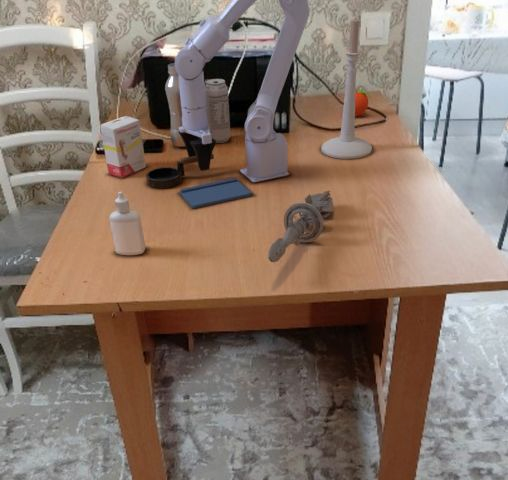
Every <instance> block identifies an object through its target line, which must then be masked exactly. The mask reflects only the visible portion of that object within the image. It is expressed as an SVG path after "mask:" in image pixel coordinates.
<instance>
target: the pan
mask: <svg viewBox="0 0 508 480" xmlns="http://www.w3.org/2000/svg"><path fill="white" fill-rule="evenodd" d="M214 159H215V155H214V153H212V155H211V160H214ZM194 163H198V161H197V157H196V156H191V157H189V156H186V157H181V158H180V160H177V161H176V165H177V166H176V167H177V168H176V167H171V166H163V167H156V168H152V169H151V170H149V171H148V172H147V173H146V174H145V178H146V182H147V186H149V187H150V188H152V189H159V190H166V189H172V188H175V187H178V186H179V185H180V184H181V183H182V181H183V180H182V179H183V177H185V176H186V173H185V165H190V164H194Z"/></svg>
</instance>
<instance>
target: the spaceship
mask: <svg viewBox="0 0 508 480" xmlns="http://www.w3.org/2000/svg"><path fill="white" fill-rule="evenodd" d="M330 192H331V190H325V191H323V192H321V193H315V194H312V195H311V194H310V193H309V194H308V195H307V196H306V197H304V202H303V201H302V202H301V201H300V202H296V203H293V204H291V205H289V207H288V208H287V209H286V210H285V213H284V215H283V227H284V229H285V232H284V234H283V236H282V237H279V238H277V239H276V240H275V241H274V242H273V243H272V244H271V245H270V247H269V250H268V253H267V258H268V260H269V262H271V263H277V262H279V261H280V260H281V259H282V258H283V256H284V255H285V254H286V251H287V248H288V247H289V246H290V245H292V244H294V245H295V246H296V247H298V246H299V245H300V244H301V243H312V242H314V241H316V240H317V239H318V238H319V237H320V236H321V235H322V233H323V230H324V219H325V218H326V217H329V215H330V214H331V213H332V212H333V211H334V202H333V197H332V196H331V193H330ZM320 211H323V212H325V213H324V214H323V215H322V214H321V212H320ZM326 212H327V213H326ZM297 214H298V215H299V217H300V218H299V217H298V216H296V215H297ZM307 229H309V230H310V229H311V231H310V232H308V230H307Z"/></svg>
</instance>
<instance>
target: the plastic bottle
mask: <svg viewBox="0 0 508 480" xmlns="http://www.w3.org/2000/svg"><path fill="white" fill-rule="evenodd" d="M167 73H168V78H167V80H166V82H165V85H164V91H165V95H166V99H167V103H168V109H169V115H170V129H169V131H170V132H169V134H170V135H169V137H170V141H171V143H172V145H174V146H175V147H177V148H181V147H182V148H186V146H185V144H184V141H183V139H182V137H181V136H180V134H179V127H182V109H181V99H180V90H179V75H178V73H177V71H176V69H175V62H172V63H169V64H167Z"/></svg>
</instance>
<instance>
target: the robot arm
mask: <svg viewBox="0 0 508 480" xmlns="http://www.w3.org/2000/svg"><path fill="white" fill-rule="evenodd" d="M256 1H257V0H231V1H230V2H229V4H228V5H227V6H226V7H225V8H224V10H222V12H221V13H220V14H219V15H217V16H208V18H207V19H205V18H203V19H202V20H201V21H200V22H199V26H200V27H199V28H198V30H196V32H195V33H194V34H193V35H192V36H191V38H189V37H188V38H187V39H186V40H185V41H184V44H185V45H184V46H183V47H182V48H181V49H180V50H179V51H178V53H177V54H176V56H175V58H174V63H175V69H176V71H177V73H178V75H179V90H180V99H181V109H182V127H179V134H180V136H181V137H182V139H183V141H184V144H185V146H186V147H185V149H186V152H187V157H191V156H196V157H197V161H198V162H197V166H198V168H199V170H200V171H201V172H204V171H208V170H210V168H211V167H210V166H211V160H212V159H211V155H212V154H213V152H214V149H215V146H216V145H217V143H216V140H215V139H212V138H211V134H210V130H209V124H208V115H207V103H206V90H205V86H206V81H205V76H204V70H203V69H204V67H205V65H206V63H209V62H210V61H212V59H213V58H214V57H215V56H216V54H218V52H219V51H220V50H221V49H222V48H223V47H224V46H225V45H226V44H227V42H229V40H230V30H231V28H232V27H233V25H234V24H235V23H237V21H238V20H239V19H240V18H241V17H242V16H243V15H244V14H245V13H246V12H247V11H248V10H249V8H251V6H252V5H254V3H256ZM278 2H279V5H280V8H281V10H282V12H283V13H284V18H283V21H282V24H281V27H280V31H279V33H278V36H277V39H276V42H275V44H274V46H273V50H272V53H271V57H270V59H269V62H268V64H267V68H266V71H265V74H264V77H263V80H262V83H261V86H260V89H259V91H258V94H257V97H256V99H255V101H254V102H252V104H251V105H250V106H249V108H248V109H247V117H246V119H245V122H244V131H245V134H244V150H245V167H244V168H241V169H239V171H240V173H241V174H242V175H243V176H245V177H246V178H247V179H248V180H249V181H250V182H252V183H259V182H263V181H267V180H272V179H277V178H282V177H287V176H289V175H290V173H289V172H288V165H289V164H288V159H289V157H288V155H289V154H288V153H289V152H288V151H289V150H288V142H287V140H286V137H285V135H284V134H283V133H281V132H276V131H275V130H274V122H275V117H276V114H275V113H276V110H277V106H278V102H279V99H280V97H281V94H282V91H283V88H284V86H285V83H286V80H287V77H288V74H289V72H290V69H291V66H292V64H293V61H294V58H295V55H296V53H297V50H298V47H299V45H300V42H301V39H302V35H303V34H304V32H305V31H304V30H305V28H306V25H307V22H308V19H309V16H310V6H309V0H278Z"/></svg>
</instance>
